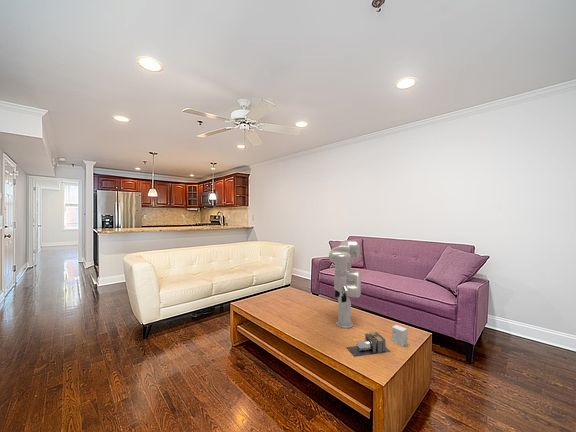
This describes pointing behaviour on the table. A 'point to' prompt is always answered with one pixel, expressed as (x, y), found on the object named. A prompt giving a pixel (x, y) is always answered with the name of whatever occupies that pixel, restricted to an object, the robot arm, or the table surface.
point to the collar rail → (372, 337)
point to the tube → (365, 345)
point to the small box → (399, 335)
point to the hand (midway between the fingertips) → (340, 299)
